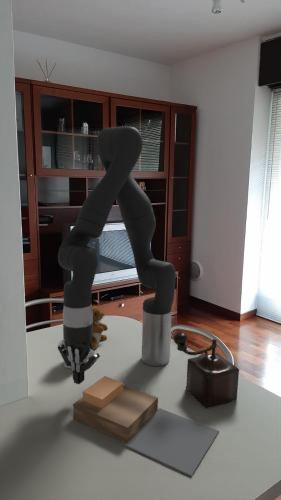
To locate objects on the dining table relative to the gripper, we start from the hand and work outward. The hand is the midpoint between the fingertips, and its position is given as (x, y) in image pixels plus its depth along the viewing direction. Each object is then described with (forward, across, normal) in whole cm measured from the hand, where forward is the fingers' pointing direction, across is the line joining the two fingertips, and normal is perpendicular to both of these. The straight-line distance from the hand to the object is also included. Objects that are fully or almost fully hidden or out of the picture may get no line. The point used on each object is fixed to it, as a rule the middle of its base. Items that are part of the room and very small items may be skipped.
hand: (78, 382), depth 99 cm
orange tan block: (+1, -8, 0) cm, 8 cm away
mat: (+5, -28, 0) cm, 29 cm away
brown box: (+5, -12, 0) cm, 13 cm away
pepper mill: (+5, -27, -20) cm, 34 cm away
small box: (+5, +14, -15) cm, 21 cm away
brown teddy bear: (+5, +21, -30) cm, 37 cm away
